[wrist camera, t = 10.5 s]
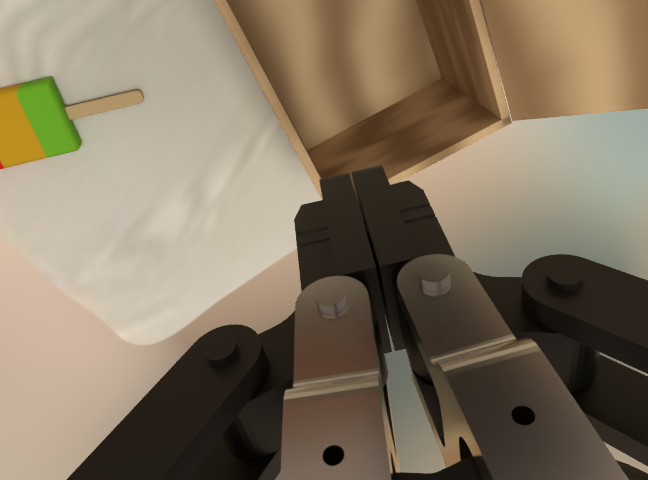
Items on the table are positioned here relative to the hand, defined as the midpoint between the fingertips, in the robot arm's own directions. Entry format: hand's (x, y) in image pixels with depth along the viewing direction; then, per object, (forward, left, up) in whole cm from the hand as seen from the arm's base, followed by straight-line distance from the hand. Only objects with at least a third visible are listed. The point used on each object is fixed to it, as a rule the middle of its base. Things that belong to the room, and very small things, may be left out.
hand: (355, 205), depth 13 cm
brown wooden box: (-3, +6, -33) cm, 33 cm away
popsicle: (+15, -8, -33) cm, 37 cm away
